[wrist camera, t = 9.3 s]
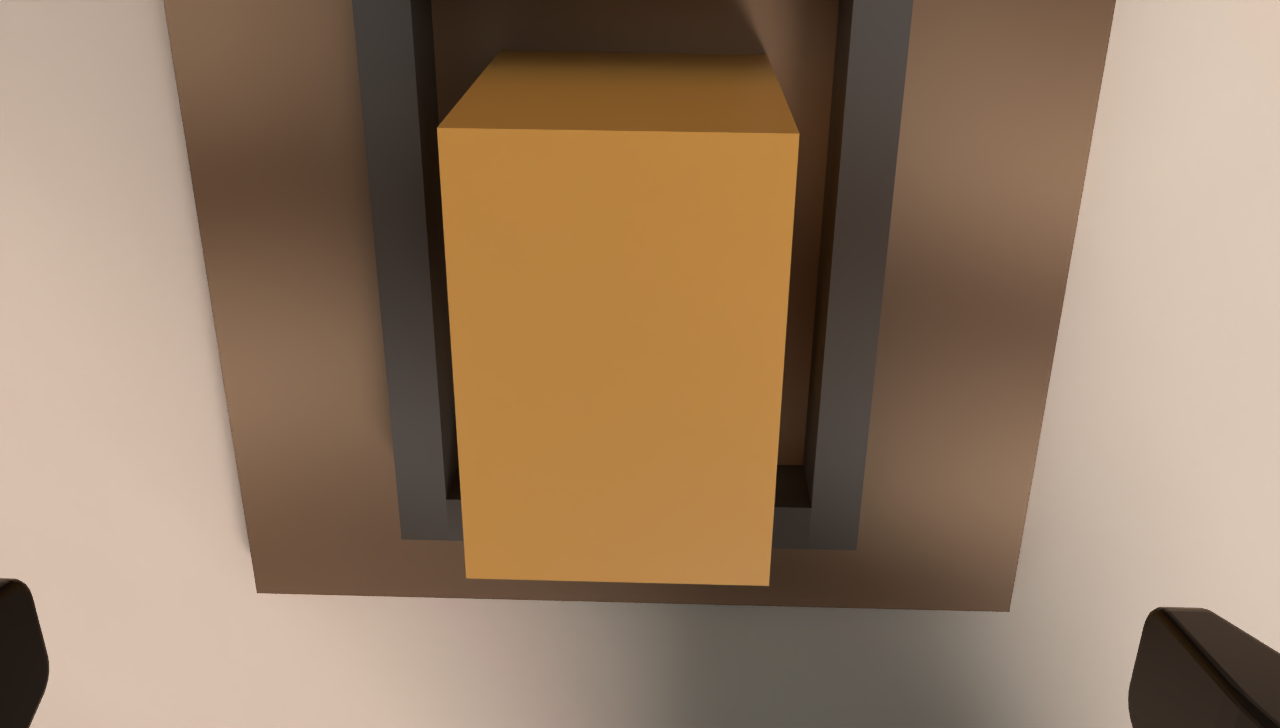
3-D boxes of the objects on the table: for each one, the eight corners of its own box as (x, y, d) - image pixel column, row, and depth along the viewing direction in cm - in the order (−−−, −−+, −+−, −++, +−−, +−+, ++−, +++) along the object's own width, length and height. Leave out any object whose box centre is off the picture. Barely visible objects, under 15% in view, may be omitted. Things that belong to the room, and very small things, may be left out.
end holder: (1000, 592, 22) (1030, 661, 20) (267, 574, 22) (230, 640, 20) (1141, -242, 16) (1202, -253, 14) (142, -250, 16) (74, -261, 14)
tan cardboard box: (747, 412, 20) (769, 585, 15) (514, 408, 20) (466, 578, 15) (767, 54, 17) (799, 133, 13) (500, 50, 17) (437, 127, 13)
